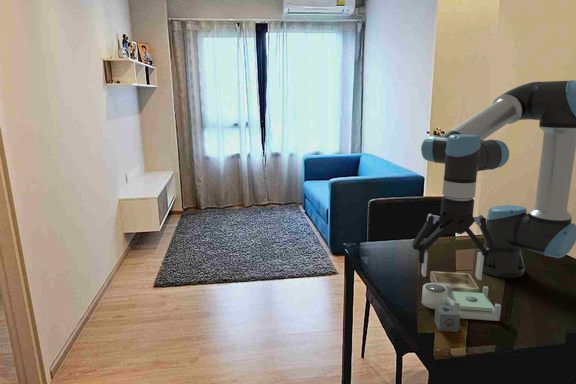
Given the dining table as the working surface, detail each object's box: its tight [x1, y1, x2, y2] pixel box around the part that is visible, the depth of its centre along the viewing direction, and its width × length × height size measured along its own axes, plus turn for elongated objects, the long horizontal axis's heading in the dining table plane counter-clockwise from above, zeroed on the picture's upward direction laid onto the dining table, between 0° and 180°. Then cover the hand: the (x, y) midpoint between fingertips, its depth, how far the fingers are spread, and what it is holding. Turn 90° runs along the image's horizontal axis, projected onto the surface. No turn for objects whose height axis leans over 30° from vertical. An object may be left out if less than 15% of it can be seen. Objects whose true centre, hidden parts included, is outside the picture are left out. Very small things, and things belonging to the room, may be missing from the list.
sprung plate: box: [451, 291, 493, 311], centre depth 119 cm, size 9×9×1 cm
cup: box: [421, 282, 448, 310], centre depth 122 cm, size 7×7×5 cm
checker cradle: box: [446, 284, 502, 322], centre depth 119 cm, size 12×12×4 cm
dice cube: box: [433, 304, 461, 333], centre depth 110 cm, size 5×5×5 cm
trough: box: [429, 270, 481, 293], centre depth 132 cm, size 12×11×3 cm
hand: (450, 276), depth 107 cm, fingers open, 13 cm apart
